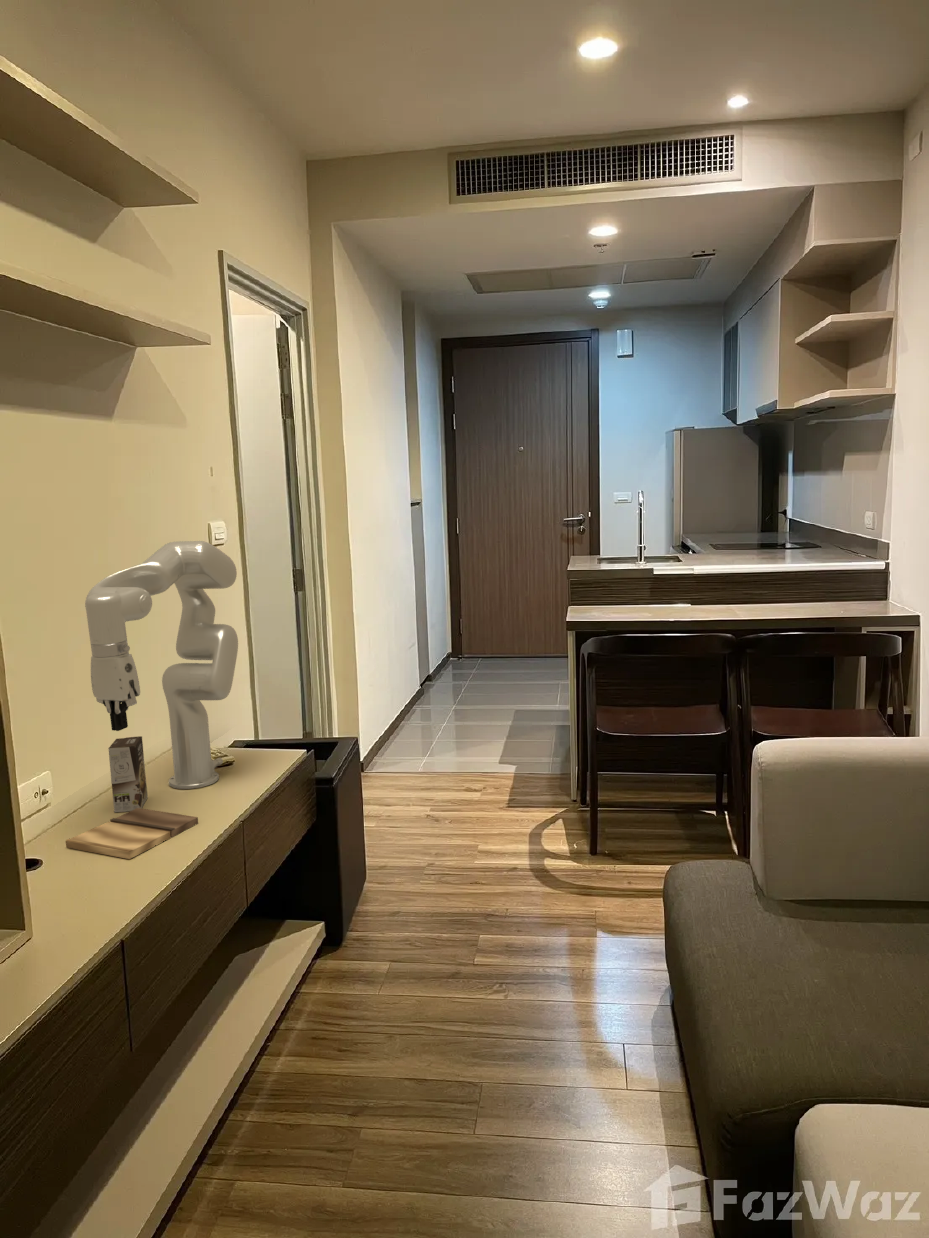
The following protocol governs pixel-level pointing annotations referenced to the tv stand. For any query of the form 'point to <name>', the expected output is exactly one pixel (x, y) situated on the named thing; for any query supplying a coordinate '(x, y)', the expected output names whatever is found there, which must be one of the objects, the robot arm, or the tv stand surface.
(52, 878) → the tv stand surface
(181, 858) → the tv stand surface
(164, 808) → the tv stand surface
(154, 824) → the walnut board
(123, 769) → the coffee box
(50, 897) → the tv stand surface
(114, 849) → the oak plank
